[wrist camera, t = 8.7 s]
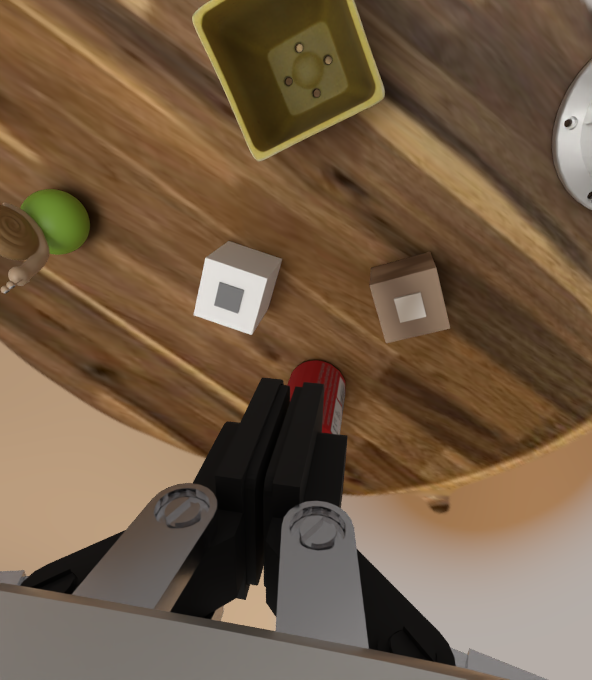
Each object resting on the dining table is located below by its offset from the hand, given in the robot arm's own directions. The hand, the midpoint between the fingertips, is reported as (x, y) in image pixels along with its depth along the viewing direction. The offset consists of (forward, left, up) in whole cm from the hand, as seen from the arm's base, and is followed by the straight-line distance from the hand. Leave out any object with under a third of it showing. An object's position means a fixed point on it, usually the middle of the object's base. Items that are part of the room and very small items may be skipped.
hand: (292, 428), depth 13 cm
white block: (+9, +5, -29) cm, 31 cm away
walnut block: (-5, +5, -29) cm, 30 cm away
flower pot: (+4, -11, -29) cm, 32 cm away
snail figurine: (+25, +1, -29) cm, 39 cm away
